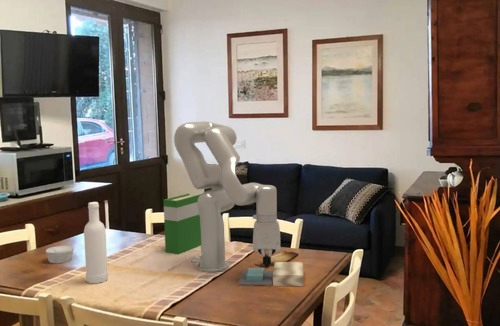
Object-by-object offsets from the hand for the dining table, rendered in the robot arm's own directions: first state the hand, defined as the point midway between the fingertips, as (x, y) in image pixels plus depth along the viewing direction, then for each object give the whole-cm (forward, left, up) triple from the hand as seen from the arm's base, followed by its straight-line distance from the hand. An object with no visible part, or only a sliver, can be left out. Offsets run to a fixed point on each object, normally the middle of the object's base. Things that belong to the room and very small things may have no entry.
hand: (266, 265), depth 201 cm
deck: (+8, 0, -5) cm, 9 cm away
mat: (-4, 0, -5) cm, 6 cm away
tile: (-4, 0, -2) cm, 5 cm away
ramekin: (-90, +20, -5) cm, 93 cm away
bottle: (-64, -5, -5) cm, 65 cm away
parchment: (+4, +24, -5) cm, 25 cm away
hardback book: (-40, +40, -5) cm, 57 cm away
